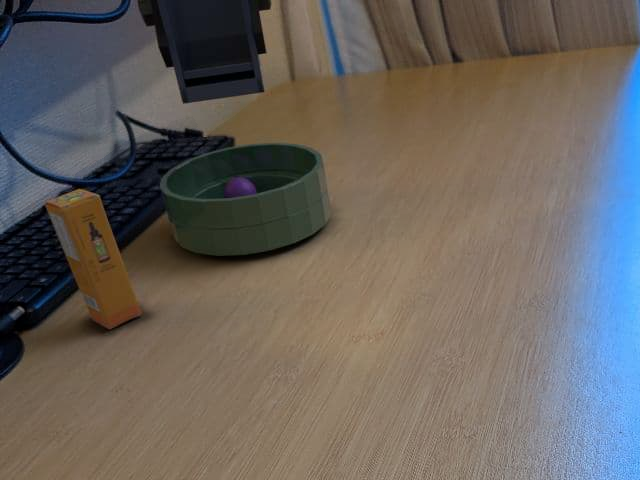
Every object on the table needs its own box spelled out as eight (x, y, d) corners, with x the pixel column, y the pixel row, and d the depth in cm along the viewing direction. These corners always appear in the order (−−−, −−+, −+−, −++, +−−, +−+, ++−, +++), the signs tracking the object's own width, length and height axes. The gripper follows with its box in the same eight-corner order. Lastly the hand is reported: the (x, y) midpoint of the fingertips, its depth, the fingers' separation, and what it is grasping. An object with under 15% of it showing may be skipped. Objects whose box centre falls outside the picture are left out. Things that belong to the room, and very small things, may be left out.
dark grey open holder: (186, 83, 77) (151, -61, 69) (262, 72, 77) (235, -72, 70) (182, 104, 71) (144, -50, 64) (264, 92, 72) (236, -62, 64)
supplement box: (123, 304, 70) (81, 184, 64) (143, 316, 68) (102, 193, 62) (88, 319, 69) (41, 198, 62) (107, 332, 67) (61, 208, 60)
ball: (227, 179, 78) (255, 201, 79) (239, 165, 81) (266, 186, 82) (213, 203, 81) (241, 224, 82) (225, 189, 83) (252, 210, 84)
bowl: (180, 212, 85) (164, 157, 82) (324, 189, 86) (315, 134, 83) (173, 272, 74) (154, 211, 70) (338, 246, 75) (329, 184, 71)
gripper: (289, -180, 75) (333, 61, 74) (67, -151, 74) (108, 94, 73) (281, -265, 67) (329, 2, 66) (33, -234, 66) (78, 37, 65)
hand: (213, 50), depth 69 cm, fingers closed on dark grey open holder, 7 cm apart
